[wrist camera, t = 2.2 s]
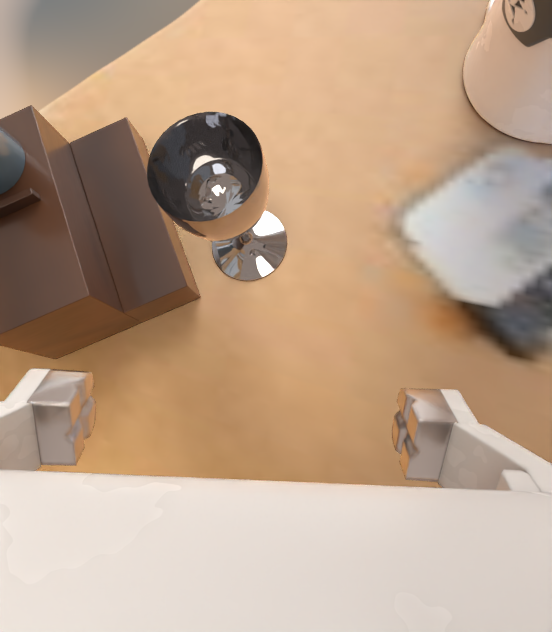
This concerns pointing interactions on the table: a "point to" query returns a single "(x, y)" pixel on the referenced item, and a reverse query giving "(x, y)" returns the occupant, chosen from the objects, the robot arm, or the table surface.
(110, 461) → the table surface
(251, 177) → the wine glass
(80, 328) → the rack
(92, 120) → the table surface
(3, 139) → the tumbler
